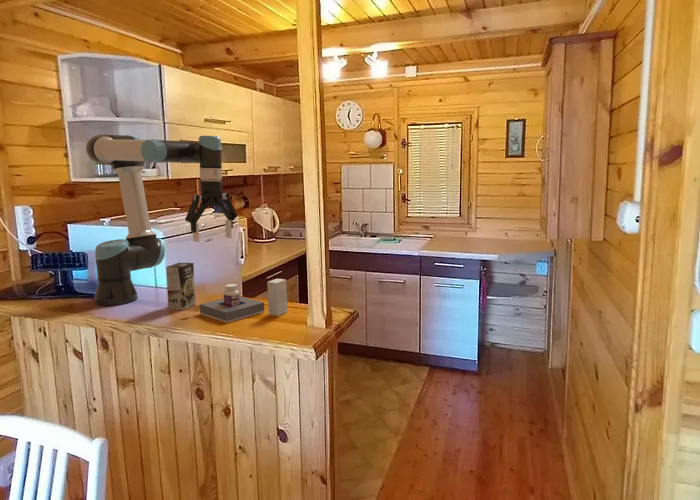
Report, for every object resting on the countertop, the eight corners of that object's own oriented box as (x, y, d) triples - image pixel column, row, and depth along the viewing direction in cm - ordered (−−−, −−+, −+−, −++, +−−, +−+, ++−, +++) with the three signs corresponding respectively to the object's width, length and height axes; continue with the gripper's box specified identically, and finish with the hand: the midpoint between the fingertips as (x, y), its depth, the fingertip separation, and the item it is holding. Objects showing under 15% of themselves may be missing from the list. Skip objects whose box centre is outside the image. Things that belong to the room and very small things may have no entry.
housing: (200, 313, 175) (199, 304, 174) (237, 304, 187) (236, 295, 186) (227, 322, 165) (226, 312, 164) (264, 311, 177) (264, 302, 176)
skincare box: (277, 310, 179) (276, 278, 177) (287, 311, 177) (286, 279, 175) (267, 314, 173) (266, 281, 171) (278, 316, 171) (276, 282, 169)
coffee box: (184, 310, 179) (181, 267, 176) (168, 309, 180) (165, 266, 177) (196, 303, 188) (194, 262, 185) (181, 303, 189) (178, 261, 186)
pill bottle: (234, 314, 172) (233, 287, 171) (221, 312, 174) (220, 286, 172) (242, 310, 177) (241, 284, 176) (230, 308, 179) (228, 282, 177)
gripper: (185, 181, 163) (187, 244, 167) (246, 180, 181) (247, 236, 185) (173, 180, 167) (175, 241, 171) (234, 179, 186) (235, 234, 190)
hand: (212, 239), depth 178 cm, fingers open, 13 cm apart
